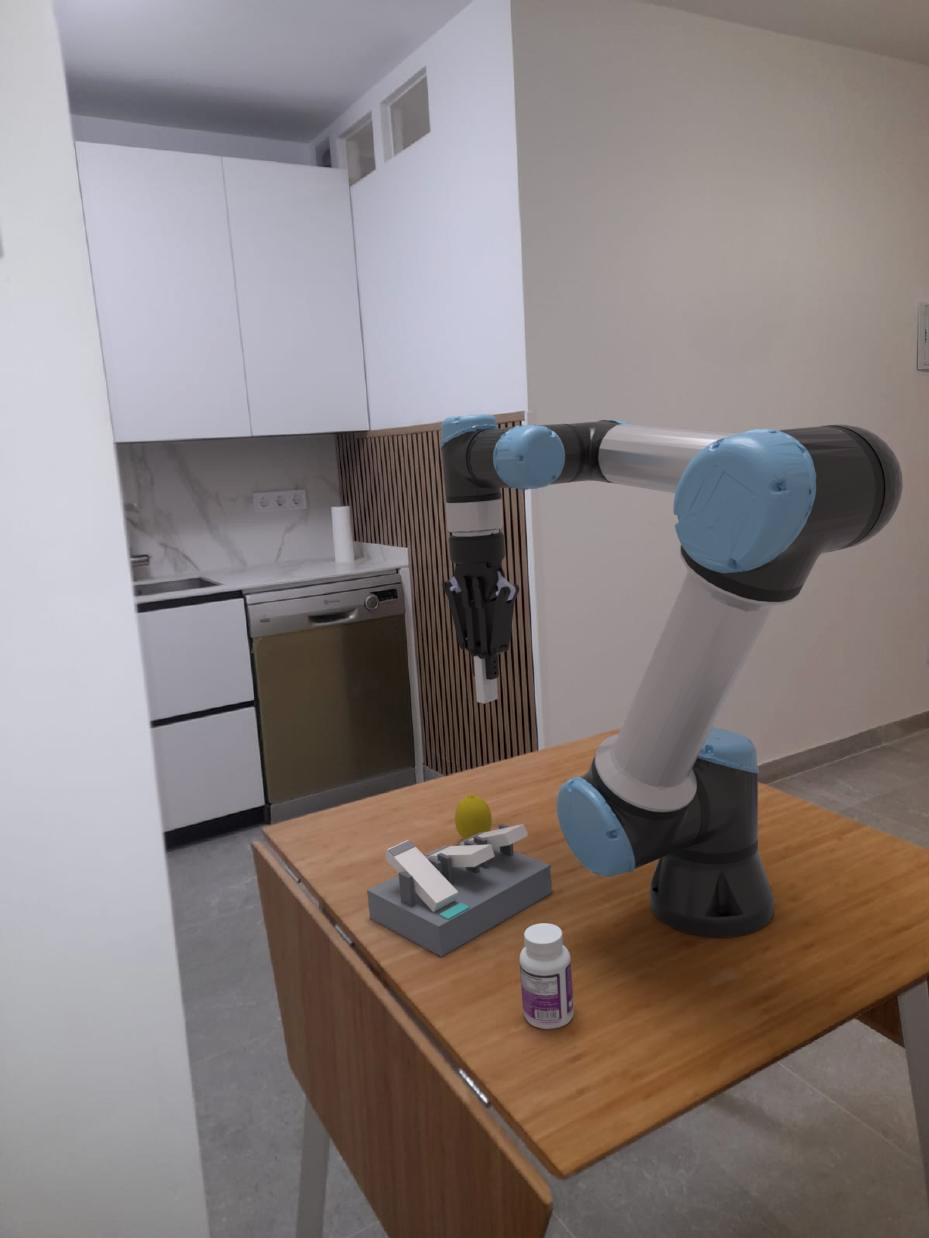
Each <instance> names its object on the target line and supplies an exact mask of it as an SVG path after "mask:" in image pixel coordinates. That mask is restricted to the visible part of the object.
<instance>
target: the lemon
mask: <svg viewBox="0 0 929 1238" xmlns="http://www.w3.org/2000/svg"><path fill="white" fill-rule="evenodd" d="M455 809H456V810H455V813H454V823H455V827H456V831H457V833H458V834H459V836H460V837H461V838H462V839H463V840H465V839H467V838H469V837H471V836H473V835H476V834H478V833H481V832H489V831H491V828H492V822H493V821H492V820H493V819H492V813H491V809H490V807H489V804H488V803H487V802H486V800H484V799H483V798H482V797H481V796H478V795H475V794H473V793H469V794H468V795H467V796H464V797H463V798H462V799H461V800H460V801H459V802H458V803H457V805H456V808H455Z"/></svg>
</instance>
